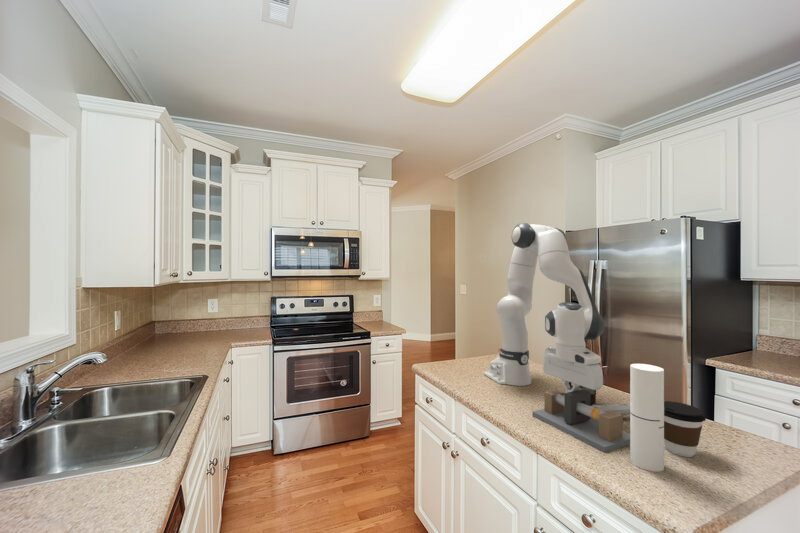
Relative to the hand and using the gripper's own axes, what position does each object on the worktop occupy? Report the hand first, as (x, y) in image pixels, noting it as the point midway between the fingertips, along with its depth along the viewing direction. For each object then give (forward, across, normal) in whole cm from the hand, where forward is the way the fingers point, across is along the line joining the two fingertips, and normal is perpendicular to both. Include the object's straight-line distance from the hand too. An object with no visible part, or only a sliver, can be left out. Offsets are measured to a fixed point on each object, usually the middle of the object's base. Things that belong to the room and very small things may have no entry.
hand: (570, 394), depth 113 cm
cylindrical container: (+10, +25, -2) cm, 26 cm away
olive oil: (+10, -11, +20) cm, 25 cm away
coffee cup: (+10, +25, +13) cm, 29 cm away
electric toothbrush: (+10, +4, +20) cm, 22 cm away
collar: (+7, +3, 0) cm, 8 cm away
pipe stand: (+9, +4, 0) cm, 10 cm away
